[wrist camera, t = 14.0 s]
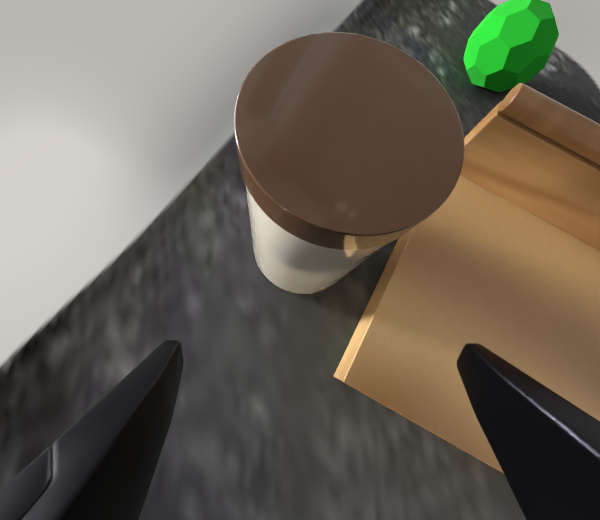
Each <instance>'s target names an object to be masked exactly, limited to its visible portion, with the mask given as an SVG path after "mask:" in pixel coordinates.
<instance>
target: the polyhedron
mask: <svg viewBox="0 0 600 520" xmlns="http://www.w3.org/2000/svg"><path fill="white" fill-rule="evenodd" d="M558 34H559V33H558V30H557V26H556V22H555V18H554V15H553V12H552V9H551V6H550V4H549V3H547V2H544V1H541V0H510V1H508V2H505V3H503V4H500V5H498V6H497V7H496V8H495V9H493V10H492V11H491V12H490V13H489V14H488V15H487V16H486V17H485V18H484V20H483V21H482V22H481V23H480V24H479V25H478V27H477V28H476V29H475V30H474V32H473V33H472V35H471V36H470V38H469V39H468V43H467V47H466V50H465V54H464V58H463V59H464V63H465V67H466V71H467V73H468V75H469V78H470V80H471V82H472V84H475V85H478V86H481V87H484V88H487V89H490V90H493V91H496V92H502V91H505V90H508V89H511V88H514V87H515V86H516V85H517V84H519V83H523V84H524V83H527V82H529V81H530V80H531V79H532V78H533V77H534V76H535V75H536V74H537V73H538V72H540V71H541V70H542V69H543V68H544V67H545V65H546V63H547V61H548V59H549V57H550V55H551V52H552V50H553V48H554V45H555V43H556V41H557V38H558Z"/></svg>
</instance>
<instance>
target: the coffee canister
mask: <svg viewBox="0 0 600 520" xmlns="http://www.w3.org/2000/svg"><path fill="white" fill-rule="evenodd" d="M234 131H235V139H236V146H237V153H238V159H239V166H240V169H241V173H242V177H243V179H244V182H245V184H246V191H247V199H248V207H249V215H250V223H251V231H252V239H253V247H254V254H255V258H256V261H257V263H258V266H259V268H260V269H261V271H262V272H263V274H264V275H265V276H266V277H267V278H268V279H269V280H270V281H271V282H272V283H273V284H275V285H276V286H278V287H280V288H281V289H284V290H286V291H289V292H293V293H298V294H311V293H316V292H320V291H323V290H325V289H327V288H329V287H330V286H332V285H334V284H335V283H336V282H337V281H339V280H340V279H341V278H343V277H344V276H345V275H347V274H348V273H349V272H350V271H352V270H353V269H354V268H356V267H357V266H358V265H360V264H361V263H362V262H363V261H365V260H366V259H367V258H369V257H370V256H371V255H373V254H374V253H375V252H377V251H378V250H379V249H380V248H382V247H383V246H384V245H386V244H387V243H389V242H392V241H394V240H396V239H398V238H399V237H401V236H403V235H404V234H406V233H408V232H409V231H410V230H412V229H413V228H414V227H416V226H417V225H418V224H420V223H421V222H423V221H424V220H425V219H427V218H428V217H429V216H430V215H432V214H433V213H434V212H435V211H436V210H438V209H439V208H440V207H441V205H442V204H443V203H444V202H445V201H446V200H447V199H448V197H449V196H450V194H451V192H452V191H453V189H454V188H455V185H456V183H457V181H458V178H459V176H460V173H461V169H462V165H463V160H464V150H465V148H464V134H463V129H462V124H461V121H460V118H459V115H458V112H457V110H456V108H455V105H454V103H453V101H452V99H451V98H450V96H449V94H448V93H447V91H446V90H445V88H444V87H443V86H442V84H441V83H440V82H439V81H438V79H437V78H436V77H435V76H434V75H433V74H432V73H431V72H430V71H429V70H428V69H427V68H426V67H425V66H423V65H422V64H421V63H420V62H419V61H417V60H416V59H415V58H413V57H412V56H410V55H409V54H407V53H406V52H404V51H402V50H400V49H398V48H396V47H395V46H393V45H390V44H388V43H385V42H383V41H381V40H378V39H374V38H371V37H368V36H363V35H358V34H353V33H342V32H325V33H317V34H310V35H307V36H302V37H299V38H296V39H293V40H290V41H287V42H286V43H284V44H282V45H280V46H278V47H276V48H275V49H273V50H272V51H270V52H269V53H267V54H266V55H265V56H264V57H263V58H262V59H261V60H259V61H258V62H257V63H256V65H255V66H254V67H253V68H252V70H251V71H250V72H249V73H248V75H247V77H246V78H245V80H244V82H243V84H242V86H241V89H240V91H239V94H238V97H237V100H236V105H235V110H234Z"/></svg>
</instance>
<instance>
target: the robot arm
mask: <svg viewBox="0 0 600 520" xmlns="http://www.w3.org/2000/svg"><path fill="white" fill-rule="evenodd" d="M457 369H458V371H459V374H460V377H461V379H462V382H463V385H464V387H465V390H466V393H467V395H468V398H469V400H470V403H471V406H472V408H473V411H474V413H475V415H476V417H477V420H478V422H479V424H480V426H481V428H482V430H483V432H484V434H485V436H486V438H487V440H488V442H489V444H490V446H491V448H492V450H493V452H494V454H495V456H496V458H497V460H498V463H499V465H500V467H501V469H502V471H503V473H504V475H505V477H506V479H507V481H508V483H509V485H510V487H511V489H512V491H513V493H514V495H515V497H516V499H517V501H518V503H519V505H520V507H521V509H522V511H523V514H524V516H525V518H526V520H600V421H598V420H597V419H595V418H594V417H592V416H591V415H589V414H588V413H586V412H585V411H583V410H581V409H580V408H578V407H577V406H575V405H574V404H572V403H571V402H569V401H568V400H566V399H564V398H563V397H561V396H560V395H558V394H557V393H555V392H554V391H552V390H551V389H549V388H547V387H546V386H544V385H543V384H541V383H540V382H538V381H537V380H535V379H534V378H532V377H531V376H529V375H527V374H526V373H524V372H523V371H521V370H520V369H518V368H517V367H515V366H514V365H512V364H510V363H509V362H507V361H506V360H504V359H503V358H501V357H500V356H498V355H497V354H495V353H493V352H492V351H490V350H489V349H487V348H486V347H484V346H483V345H481V344H478V343H467V344H465V345H464V347H463V349H462V351H461V353H460V355H459V357H458V359H457ZM182 370H183V354H182V347H181V343H180V341H165V342H163V343H162V344H161V345H160V346H159V347H158V348H156V349H155V350H154V351H153V352H152V353H151V354H150V355H149V356H148V357H147V358H146V359H144V360H143V361H142V362H141V363H140V364H139V365H138V366H137V367H136V368H135V369H133V370H132V371H131V372H130V373H129V374H128V375H127V376H126V377H125V378H124V379H123V380H121V381H120V382H119V383H118V384H117V385H116V386H115V387H114V388H113V389H112V390H110V391H109V392H108V393H107V394H106V395H105V396H104V397H103V398H102V399H101V400H100V401H98V402H97V403H96V404H95V405H94V406H93V407H92V408H91V409H90V410H89V411H88V412H86V413H85V414H84V415H83V416H82V417H81V418H80V419H79V420H78V421H77V422H75V423H74V424H73V425H72V426H71V427H70V428H69V429H68V430H67V431H66V432H65V433H63V434H62V435H61V436H60V437H59V438H58V439H57V440H56V441H55V442H54V443H53V445H52V446H49V447H48V448H47V449H46V450H45V451H44V452H42V453H41V454H40V455H39V456H38V457H37V458H36V459H35V460H34V461H33V462H31V463H30V464H29V465H28V466H27V467H26V468H25V469H24V470H22V471H21V472H20V473H19V474H18V475H17V476H16V477H14V478H13V479H12V480H11V481H10V482H9V483H8V484H7V485H5V486H4V487H3V488H2V489H1V490H0V520H138V519H139V516H140V513H141V510H142V507H143V504H144V501H145V498H146V495H147V492H148V489H149V486H150V483H151V480H152V477H153V474H154V471H155V468H156V465H157V462H158V459H159V456H160V453H161V450H162V447H163V444H164V441H165V438H166V435H167V432H168V429H169V426H170V423H171V420H172V416H173V411H174V407H175V402H176V398H177V393H178V388H179V384H180V379H181V374H182Z"/></svg>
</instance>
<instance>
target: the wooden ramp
mask: <svg viewBox="0 0 600 520" xmlns="http://www.w3.org/2000/svg"><path fill="white" fill-rule="evenodd" d="M464 148H465V150H464V160H463V165H462V169H461V173H460V176H459V178H458V181H457V183H456V185H455V188H454V189H453V191H452V192H451V194H450V196H449V197H448V199H447V200H446V201H445V202H444V203H443V204H442V205H441V207H440V208H439V209H438V210H436V211H435V212H434V213H433V214H432V215H430V216H429V217H428V218H427V219H425V220H424V221H423V222H421V223H420V224H418V225H417V226H416V227H414V228H413V229H412V230H410V231H409V232H408V233H406V234H404V235H403V236H401V237H399V239H398V241H397V243H396V245H395V247H394V249H393V252H392V254H391V256H390V258H389V260H388V262H387V264H386V266H385V268H384V271H383V273H382V275H381V277H380V279H379V281H378V283H377V285H376V287H375V290H374V292H373V294H372V296H371V298H370V300H369V302H368V304H367V307H366V309H365V311H364V313H363V315H362V317H361V319H360V321H359V323H358V326H357V328H356V330H355V332H354V334H353V336H352V338H351V340H350V342H349V345H348V347H347V349H346V351H345V353H344V355H343V357H342V359H341V362H340V364H339V366H338V368H337V370H336V372H335V374H334V377H335V378H337V379H339V380H340V381H342V382H344V383H346V384H347V385H349V386H351V387H353V388H354V389H356V390H358V391H360V392H361V393H363V394H365V395H367V396H368V397H370V398H372V399H374V400H375V401H377V402H379V403H381V404H382V405H384V406H386V407H388V408H390V409H391V410H393V411H395V412H397V413H398V414H400V415H402V416H404V417H405V418H407V419H409V420H411V421H412V422H414V423H416V424H418V425H419V426H421V427H423V428H425V429H426V430H428V431H430V432H432V433H433V434H435V435H437V436H439V437H440V438H442V439H444V440H446V441H447V442H449V443H451V444H453V445H454V446H456V447H458V448H460V449H461V450H463V451H465V452H467V453H468V454H470V455H472V456H474V457H475V458H477V459H479V460H481V461H482V462H484V463H486V464H488V465H489V466H491V467H493V468H495V469H496V470H498V471H500V472H502V473H503V471H502V469H501V467H500V465H499V463H498V460H497V458H496V456H495V454H494V452H493V450H492V448H491V446H490V444H489V442H488V440H487V438H486V436H485V434H484V432H483V430H482V428H481V426H480V424H479V422H478V420H477V417H476V415H475V413H474V411H473V408H472V406H471V403H470V400H469V398H468V395H467V393H466V390H465V387H464V385H463V382H462V379H461V377H460V374H459V371H458V369H457V359H458V357H459V355H460V353H461V351H462V349H463V347H464V345H465V344H467V343H478V344H481V345H483V346H484V347H486V348H487V349H489V350H490V351H492V352H493V353H495V354H497V355H498V356H500V357H501V358H503V359H504V360H506V361H507V362H509V363H510V364H512V365H514V366H515V367H517V368H518V369H520V370H521V371H523V372H524V373H526V374H527V375H529V376H531V377H532V378H534V379H535V380H537V381H538V382H540V383H541V384H543V385H544V386H546V387H547V388H549V389H551V390H552V391H554V392H555V393H557V394H558V395H560V396H561V397H563V398H564V399H566V400H568V401H569V402H571V403H572V404H574V405H575V406H577V407H578V408H580V409H581V410H583V411H585V412H586V413H588V414H589V415H591V416H592V417H594V418H595V419H597V420H598V421H600V124H598V123H597V122H595V121H593V120H591V119H589V118H587V117H585V116H583V115H582V114H580V113H578V112H576V111H574V110H572V109H570V108H568V107H567V106H565V105H563V104H561V103H559V102H557V101H555V100H553V99H552V98H550V97H548V96H546V95H544V94H542V93H540V92H538V91H537V90H535V89H533V88H531V87H529V86H527V85H525V84H523V83H519V84H517V85H516V86H515V87H514V88H513V89H512V90H511V91H510V92H509V93H508V94H507V96H506V97H505V98H504V100H503V101H501V102H500V103H499V104H498V105H497V106H496V107H495V108H494V109H493V110H492V111H491V112H490V113H489V114H488V115H487V116H486V117H485V118H484V119H483V120H482V121H481V122H480V123H479V124H478V125H477V126H476V127H475V128H474V129H473V130H472V131H471V132H470V133H469V134H468V135H467V136H466V137H465V138H464Z"/></svg>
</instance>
